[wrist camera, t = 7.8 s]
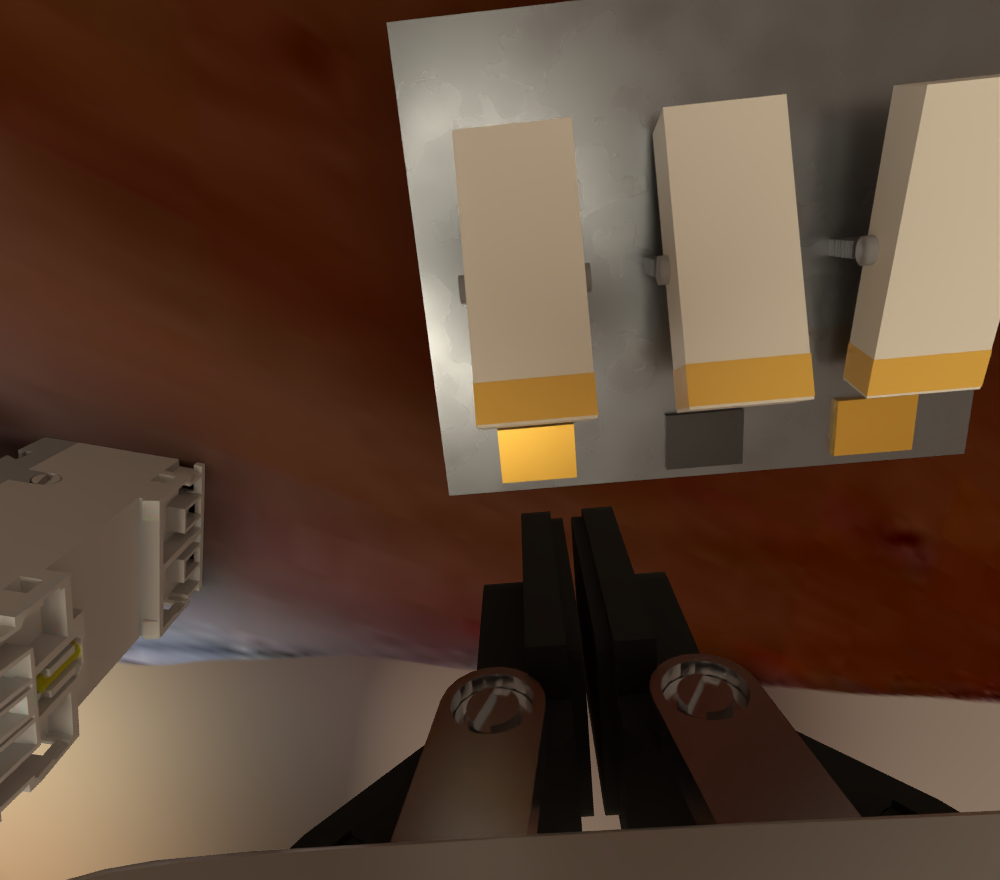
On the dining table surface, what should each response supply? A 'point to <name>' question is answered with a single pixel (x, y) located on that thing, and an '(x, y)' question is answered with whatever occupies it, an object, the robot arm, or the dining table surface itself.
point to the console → (636, 219)
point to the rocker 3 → (931, 244)
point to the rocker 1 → (524, 274)
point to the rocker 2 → (732, 255)
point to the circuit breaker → (83, 583)
